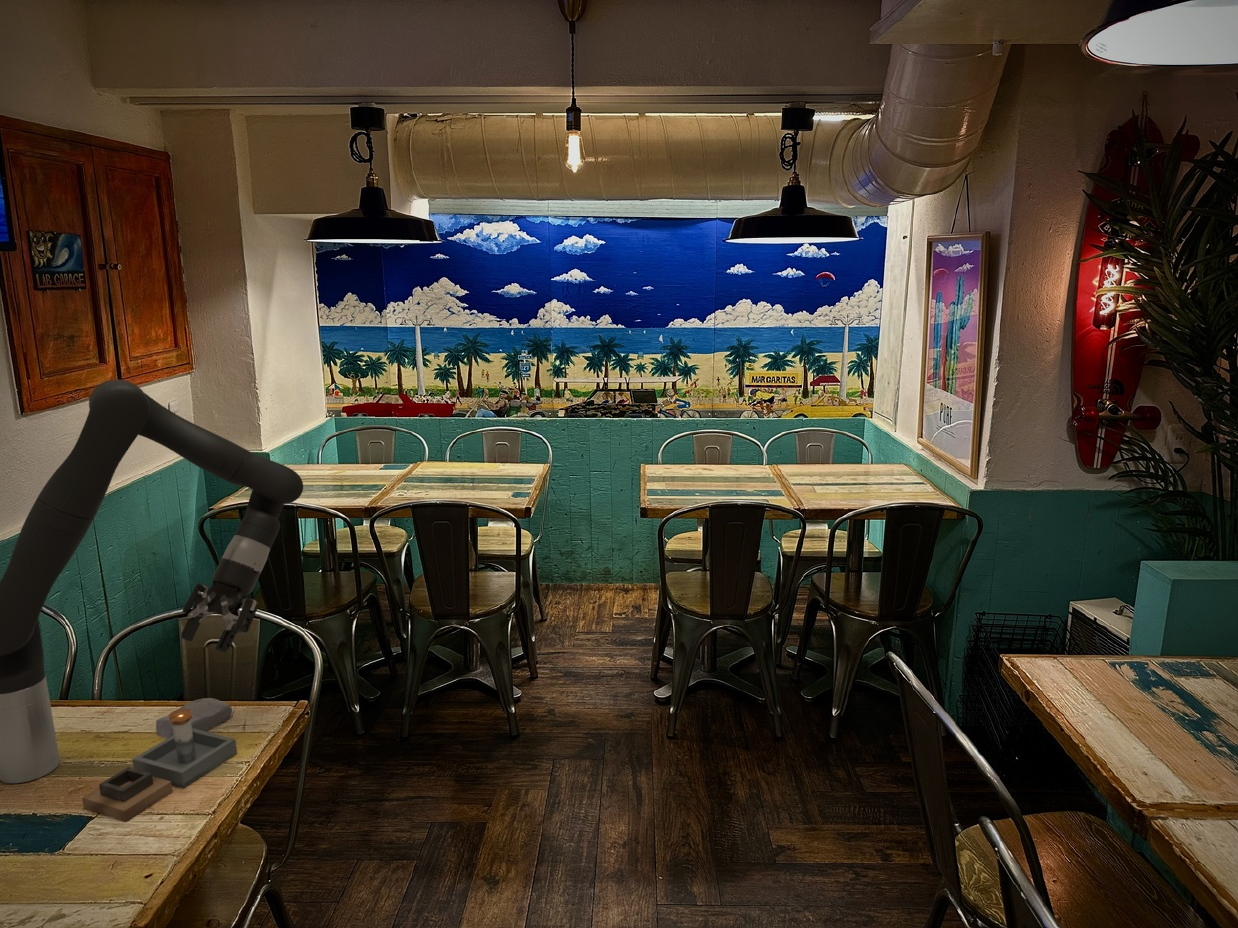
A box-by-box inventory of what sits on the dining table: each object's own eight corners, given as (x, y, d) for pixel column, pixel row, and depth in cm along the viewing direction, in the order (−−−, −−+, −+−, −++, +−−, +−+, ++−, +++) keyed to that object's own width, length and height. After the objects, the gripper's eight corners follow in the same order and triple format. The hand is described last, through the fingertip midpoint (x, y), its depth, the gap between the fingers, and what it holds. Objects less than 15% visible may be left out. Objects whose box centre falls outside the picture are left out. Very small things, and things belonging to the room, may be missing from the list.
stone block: (152, 743, 170) (186, 745, 166) (146, 720, 170) (181, 721, 165) (203, 717, 181) (237, 718, 177) (198, 695, 180) (232, 696, 176)
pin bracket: (83, 808, 147) (80, 786, 146) (131, 779, 155) (128, 759, 154) (126, 821, 143) (123, 799, 142) (172, 791, 151) (169, 770, 150)
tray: (134, 773, 157) (132, 758, 156) (189, 740, 167) (187, 726, 167) (183, 788, 152) (181, 772, 152) (237, 753, 163) (235, 738, 162)
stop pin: (171, 762, 159) (164, 716, 157) (188, 751, 162) (180, 706, 160) (186, 765, 158) (178, 719, 155) (202, 755, 161) (195, 710, 159)
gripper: (201, 549, 166) (160, 631, 161) (258, 565, 161) (218, 650, 155) (227, 562, 173) (188, 641, 167) (282, 578, 167) (245, 659, 162)
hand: (203, 645), depth 161 cm, fingers open, 8 cm apart
